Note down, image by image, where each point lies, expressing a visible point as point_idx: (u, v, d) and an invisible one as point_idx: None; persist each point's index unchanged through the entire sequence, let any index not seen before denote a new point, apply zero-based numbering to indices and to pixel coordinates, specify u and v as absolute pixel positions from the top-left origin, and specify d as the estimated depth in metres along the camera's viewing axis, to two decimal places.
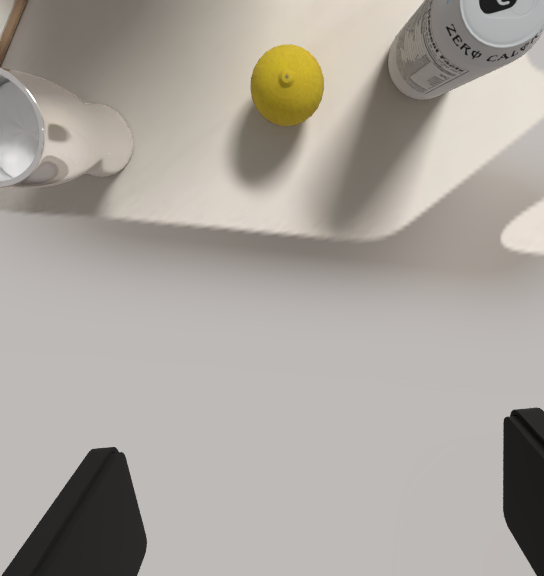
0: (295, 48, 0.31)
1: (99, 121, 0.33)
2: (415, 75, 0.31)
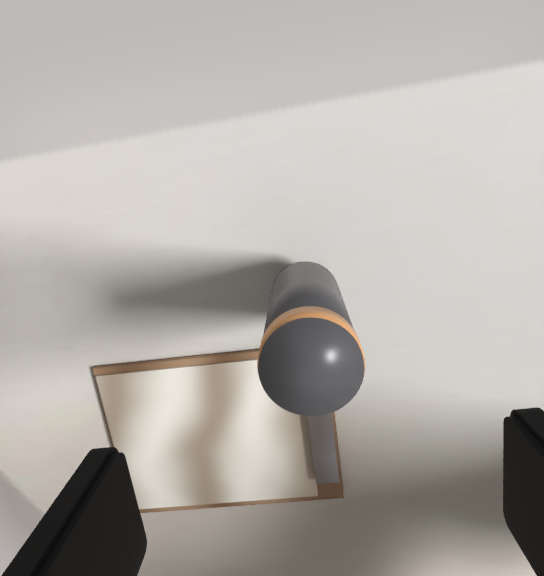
0: None
1: None
2: None
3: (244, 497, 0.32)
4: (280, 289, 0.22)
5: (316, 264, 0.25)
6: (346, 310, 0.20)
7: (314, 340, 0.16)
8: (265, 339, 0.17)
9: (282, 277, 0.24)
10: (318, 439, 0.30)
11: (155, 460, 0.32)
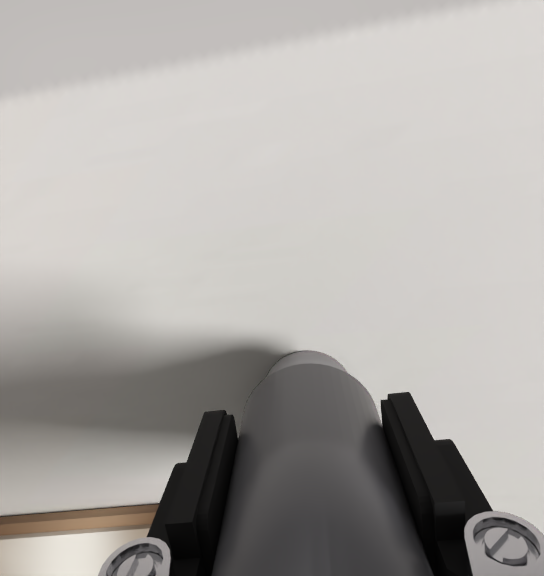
0: None
1: None
2: None
3: None
4: (251, 479, 0.09)
5: (334, 372, 0.12)
6: (432, 575, 0.07)
7: None
8: None
9: (260, 414, 0.11)
10: None
11: None
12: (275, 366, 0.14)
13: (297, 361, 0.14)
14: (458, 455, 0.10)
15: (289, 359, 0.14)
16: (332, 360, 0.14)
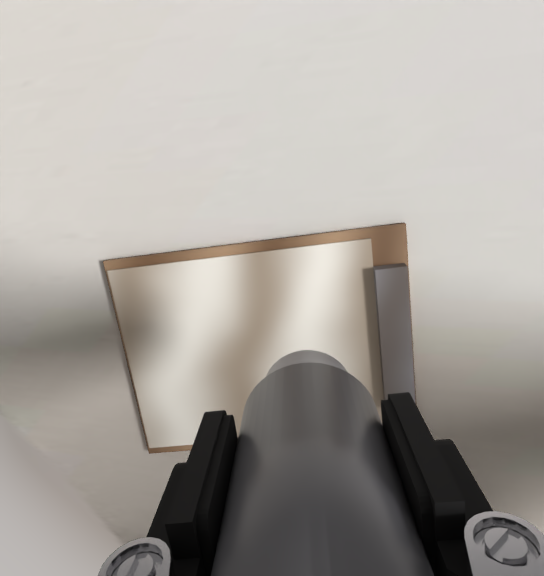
0: None
1: None
2: None
3: None
4: (250, 478, 0.09)
5: (333, 371, 0.12)
6: (432, 574, 0.07)
7: None
8: None
9: (260, 413, 0.11)
10: (391, 351, 0.23)
11: (181, 383, 0.25)
12: (275, 365, 0.14)
13: (297, 360, 0.14)
14: (458, 455, 0.10)
15: (289, 358, 0.14)
16: (332, 359, 0.14)
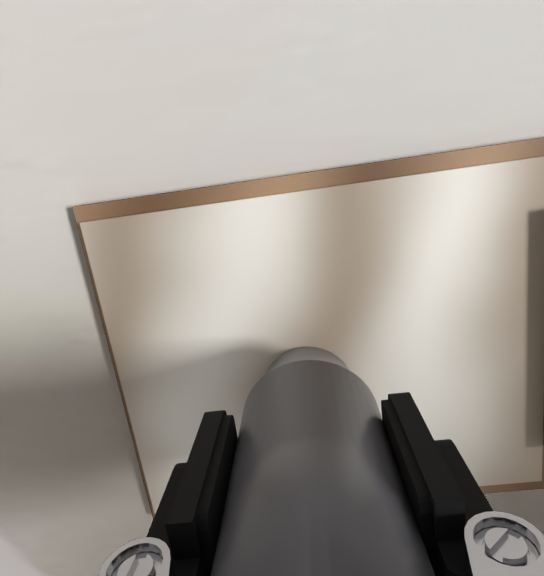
0: None
1: None
2: None
3: None
4: (250, 479, 0.09)
5: (334, 368, 0.12)
6: (434, 575, 0.07)
7: None
8: None
9: (260, 411, 0.11)
10: None
11: (206, 411, 0.15)
12: (275, 362, 0.14)
13: (297, 357, 0.14)
14: (458, 455, 0.10)
15: (289, 355, 0.14)
16: (332, 356, 0.14)
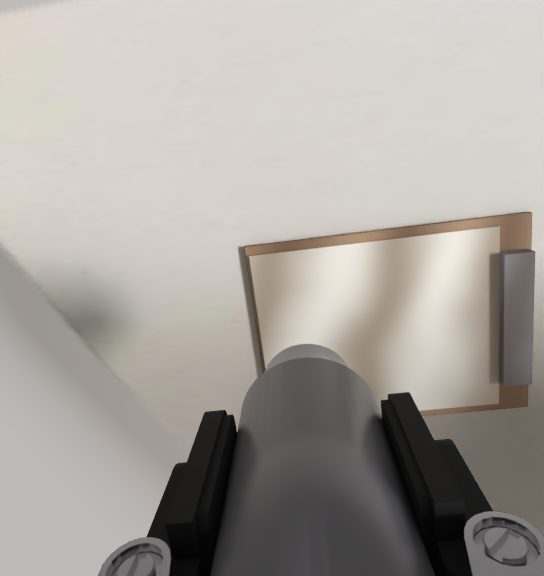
0: None
1: None
2: None
3: None
4: (249, 479, 0.09)
5: (333, 366, 0.12)
6: None
7: None
8: None
9: (259, 410, 0.11)
10: (513, 330, 0.25)
11: None
12: (274, 359, 0.14)
13: (296, 354, 0.14)
14: (458, 455, 0.10)
15: (288, 352, 0.14)
16: (332, 352, 0.14)
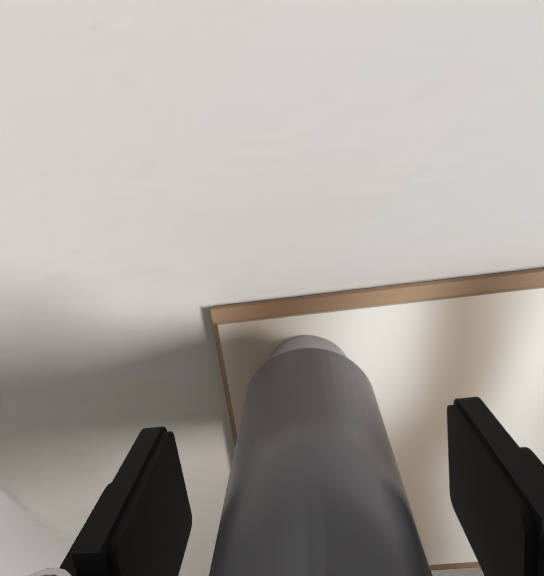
0: None
1: None
2: None
3: None
4: (252, 457, 0.09)
5: (332, 356, 0.13)
6: (420, 543, 0.08)
7: None
8: None
9: (261, 396, 0.11)
10: None
11: None
12: (276, 350, 0.15)
13: (297, 345, 0.14)
14: (541, 465, 0.09)
15: (290, 344, 0.15)
16: (331, 344, 0.15)
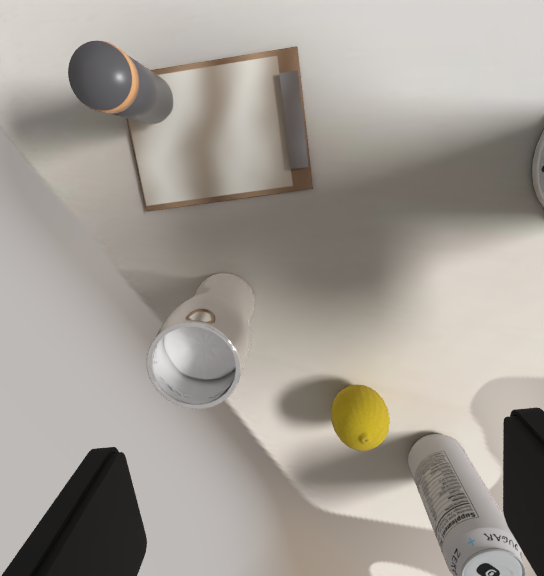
0: (385, 422, 0.41)
1: None
2: (422, 492, 0.42)
3: (235, 190, 0.41)
4: None
5: None
6: (148, 73, 0.32)
7: (99, 55, 0.27)
8: None
9: None
10: (291, 127, 0.39)
11: (166, 157, 0.41)
12: None
13: None
14: None
15: None
16: None
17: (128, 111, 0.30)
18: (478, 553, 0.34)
